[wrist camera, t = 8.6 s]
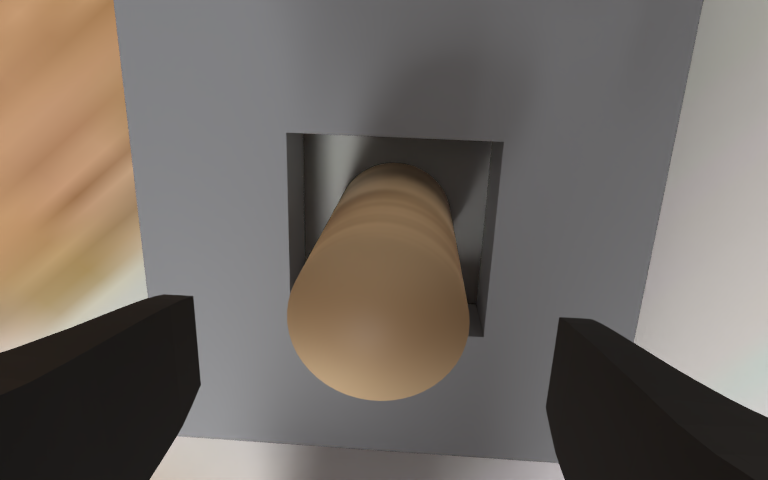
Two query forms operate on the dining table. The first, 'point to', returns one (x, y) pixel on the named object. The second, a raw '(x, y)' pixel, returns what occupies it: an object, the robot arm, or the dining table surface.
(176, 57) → the docking block
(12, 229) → the dining table surface
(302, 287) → the peg
